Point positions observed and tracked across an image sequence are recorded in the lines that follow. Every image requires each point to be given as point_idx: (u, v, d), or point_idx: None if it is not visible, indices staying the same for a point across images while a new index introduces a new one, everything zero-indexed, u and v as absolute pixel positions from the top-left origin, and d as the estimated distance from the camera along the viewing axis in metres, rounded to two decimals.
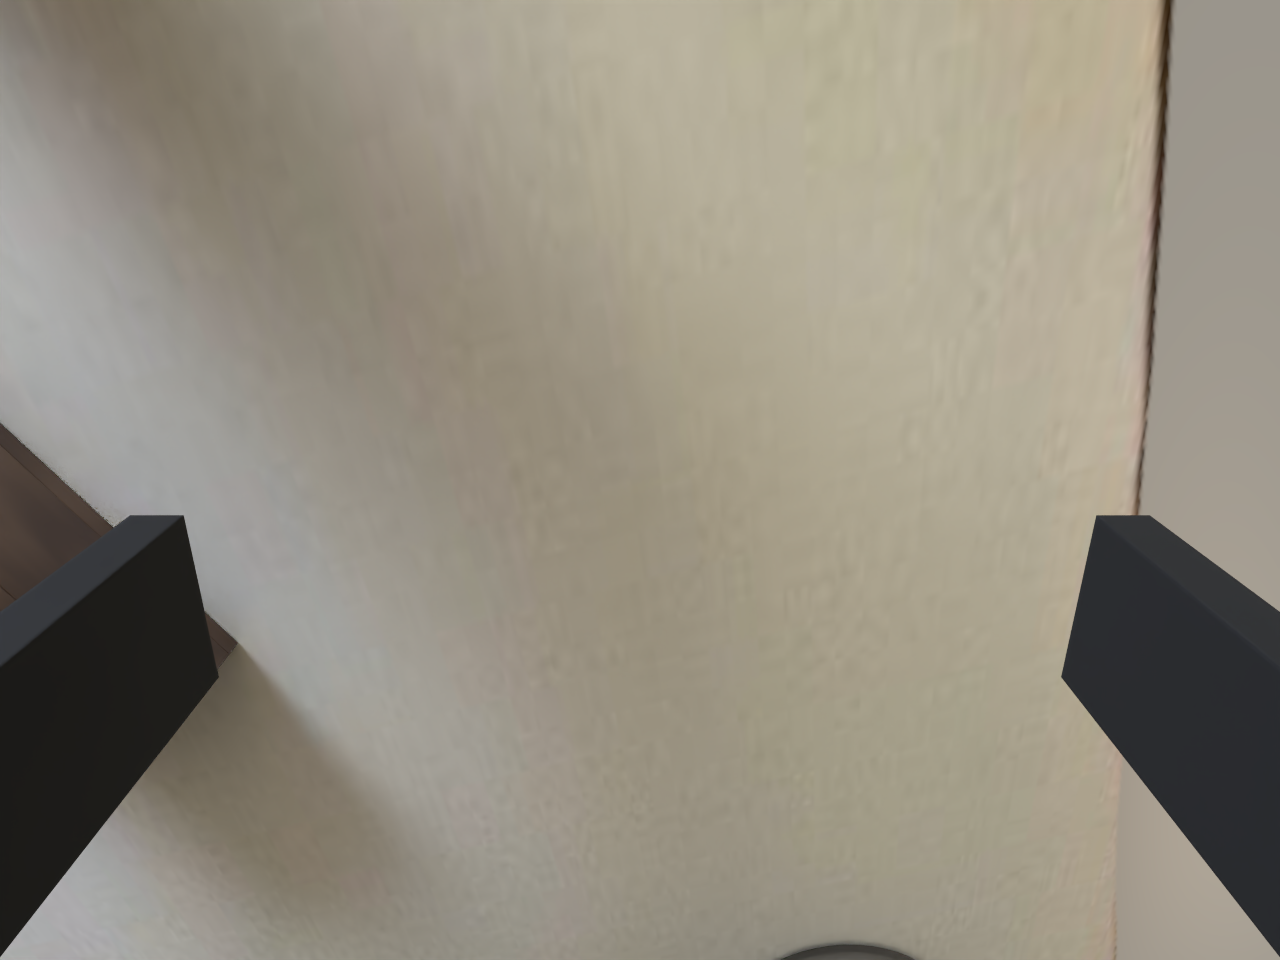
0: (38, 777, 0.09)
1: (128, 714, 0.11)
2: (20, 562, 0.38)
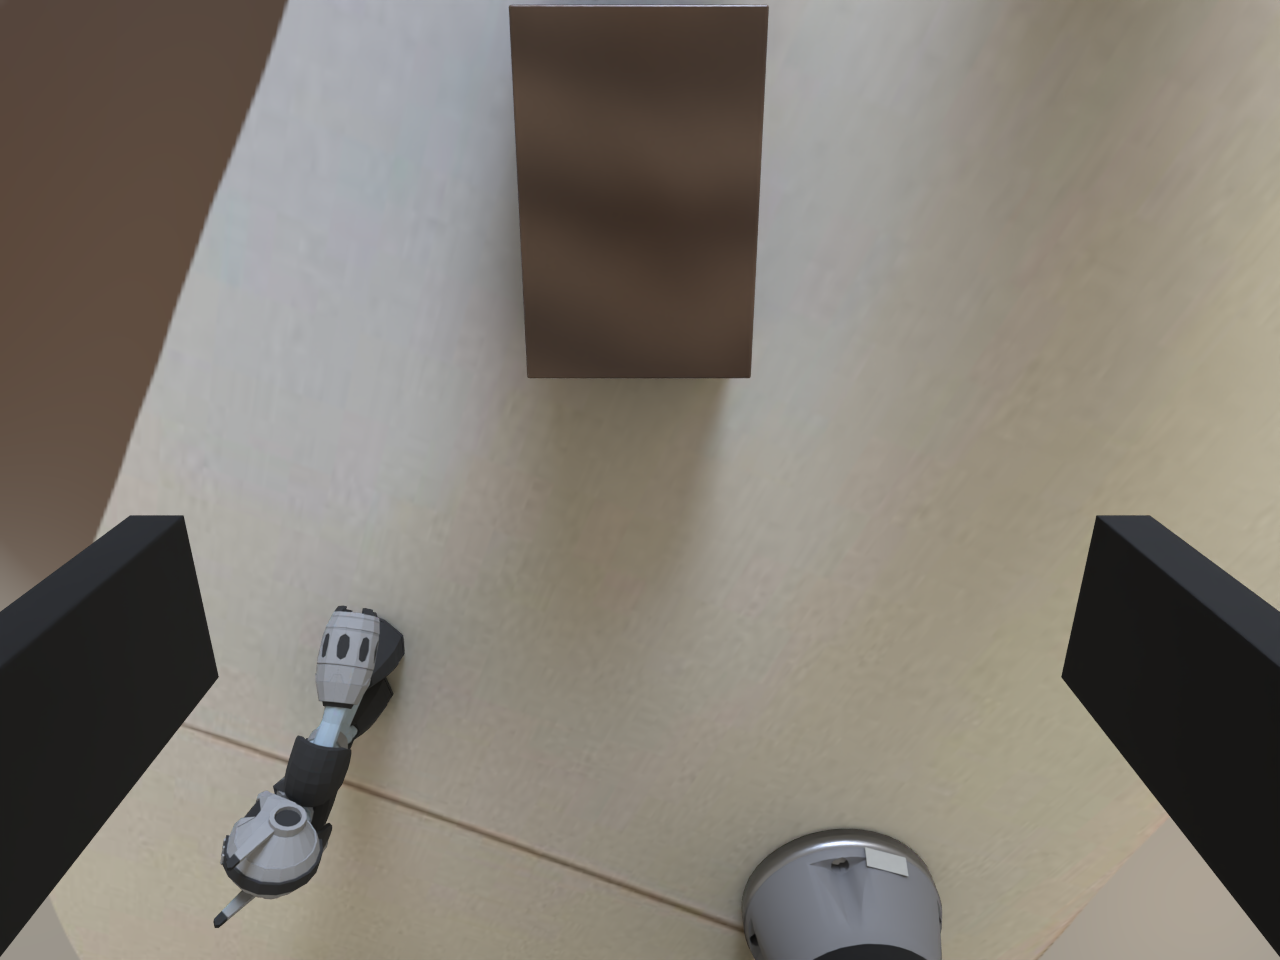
0: (39, 776, 0.09)
1: (128, 714, 0.11)
2: None
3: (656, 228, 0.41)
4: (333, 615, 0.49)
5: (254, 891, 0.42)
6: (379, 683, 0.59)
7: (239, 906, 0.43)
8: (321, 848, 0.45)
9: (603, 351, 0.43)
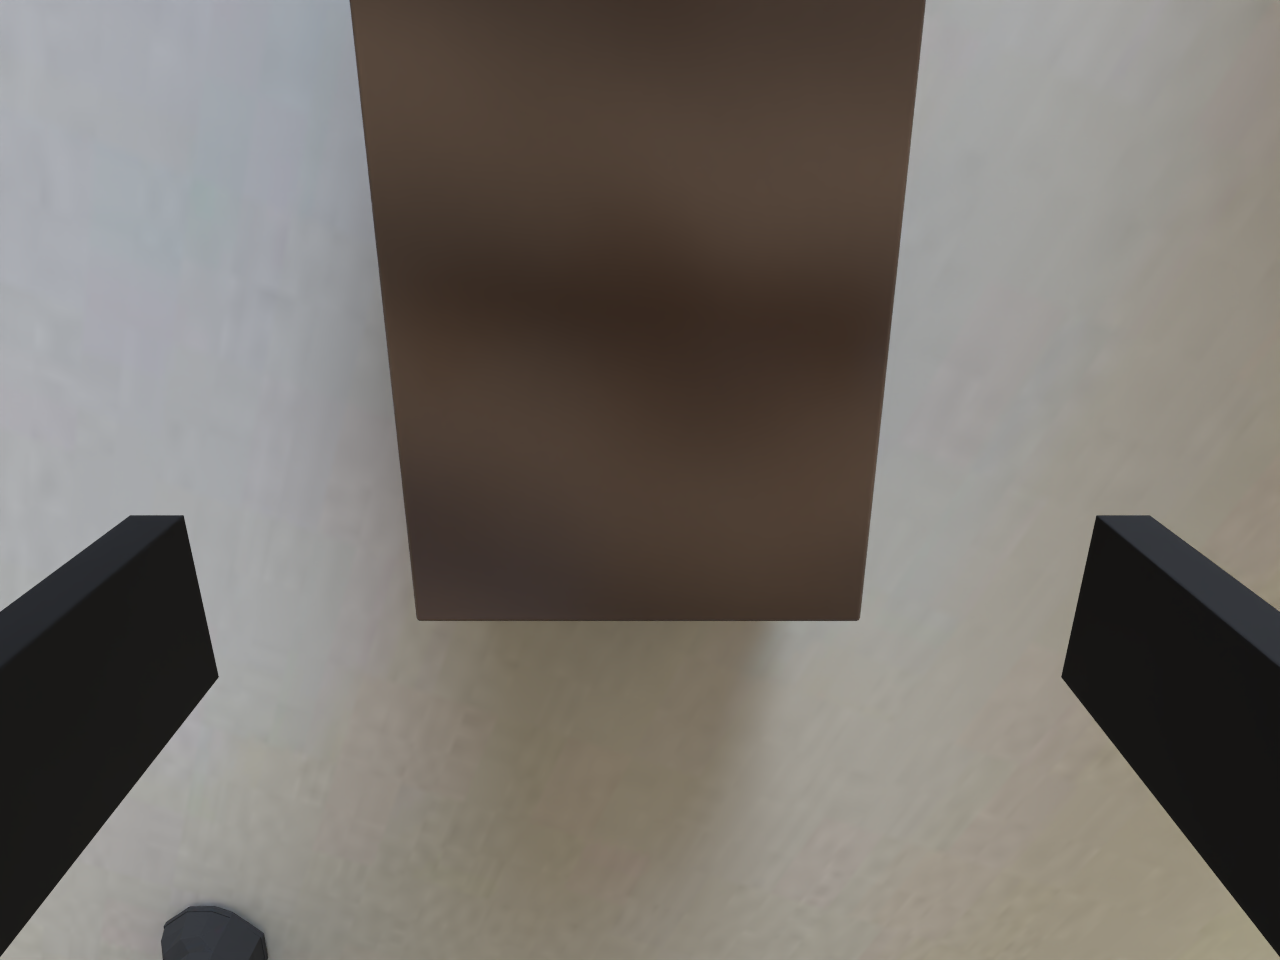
0: (38, 776, 0.09)
1: (128, 714, 0.11)
2: None
3: (674, 337, 0.19)
4: None
5: None
6: None
7: None
8: None
9: (566, 573, 0.21)
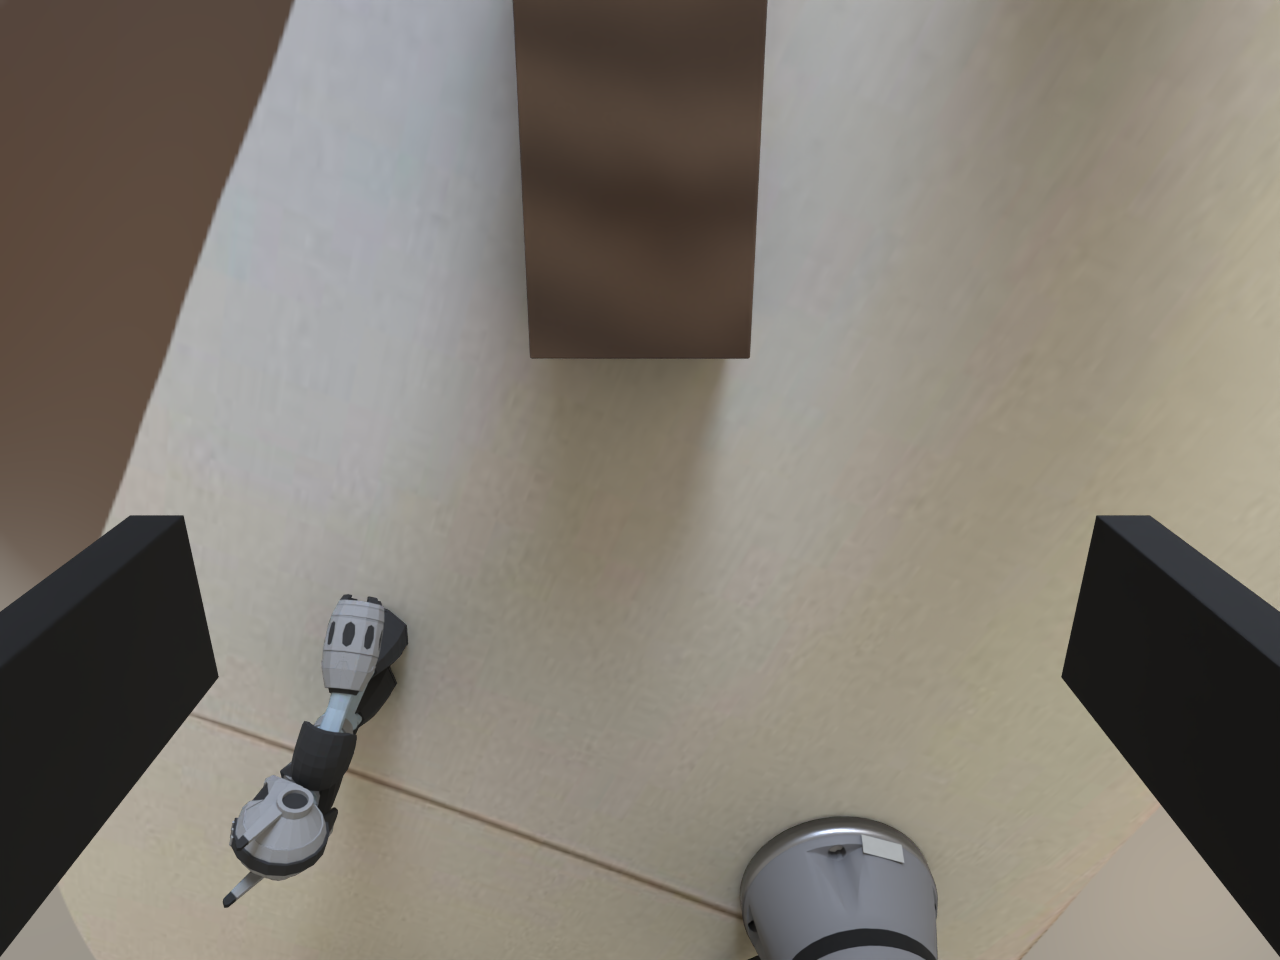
0: (38, 776, 0.09)
1: (128, 714, 0.11)
2: None
3: (657, 210, 0.41)
4: (339, 603, 0.49)
5: (262, 872, 0.43)
6: (383, 672, 0.60)
7: (248, 887, 0.44)
8: (327, 831, 0.46)
9: (605, 332, 0.44)
